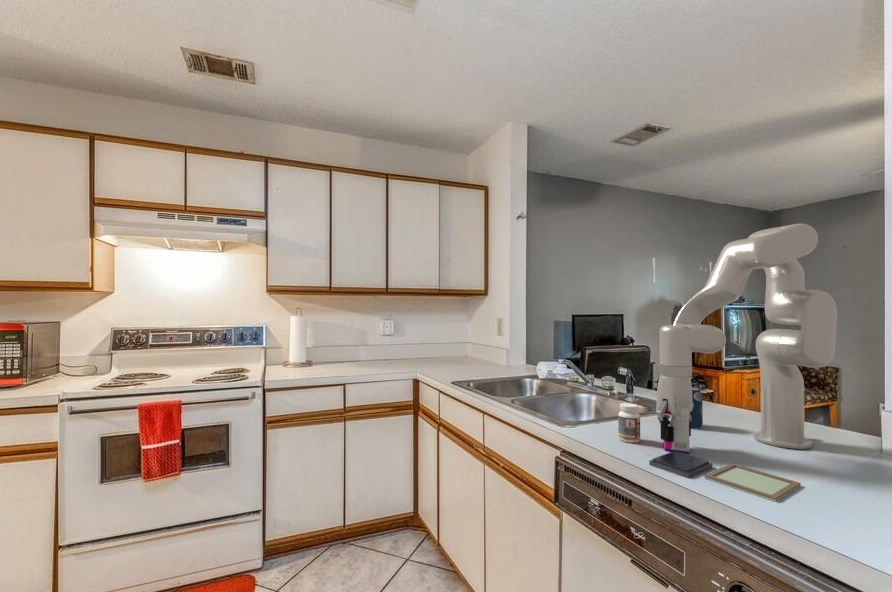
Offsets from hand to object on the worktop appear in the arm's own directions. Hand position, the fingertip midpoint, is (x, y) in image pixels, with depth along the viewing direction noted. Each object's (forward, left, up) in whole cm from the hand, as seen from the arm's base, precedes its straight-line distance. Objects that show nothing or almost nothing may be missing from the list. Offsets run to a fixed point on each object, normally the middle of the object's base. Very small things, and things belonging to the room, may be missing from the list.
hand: (675, 437), depth 111 cm
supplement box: (0, 0, -3) cm, 3 cm away
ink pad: (+11, +7, -3) cm, 13 cm away
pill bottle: (+4, -11, -3) cm, 12 cm away
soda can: (-25, -9, -3) cm, 27 cm away
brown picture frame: (+7, +20, -3) cm, 21 cm away
